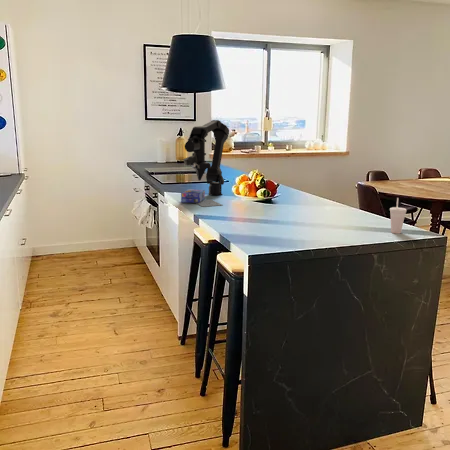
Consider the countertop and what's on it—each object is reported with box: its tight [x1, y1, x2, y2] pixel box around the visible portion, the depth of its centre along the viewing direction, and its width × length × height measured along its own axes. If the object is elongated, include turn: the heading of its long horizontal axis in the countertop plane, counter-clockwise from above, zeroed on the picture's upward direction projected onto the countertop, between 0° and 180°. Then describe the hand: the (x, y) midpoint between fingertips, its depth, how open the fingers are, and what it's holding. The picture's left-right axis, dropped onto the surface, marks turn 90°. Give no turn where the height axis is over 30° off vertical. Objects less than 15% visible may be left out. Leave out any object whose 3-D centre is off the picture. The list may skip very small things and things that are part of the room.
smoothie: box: [389, 197, 407, 235], centre depth 188 cm, size 6×6×14 cm
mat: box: [195, 199, 224, 208], centre depth 245 cm, size 11×16×1 cm
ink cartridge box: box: [180, 189, 206, 204], centre depth 248 cm, size 10×6×14 cm
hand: (199, 180), depth 253 cm, fingers closed
